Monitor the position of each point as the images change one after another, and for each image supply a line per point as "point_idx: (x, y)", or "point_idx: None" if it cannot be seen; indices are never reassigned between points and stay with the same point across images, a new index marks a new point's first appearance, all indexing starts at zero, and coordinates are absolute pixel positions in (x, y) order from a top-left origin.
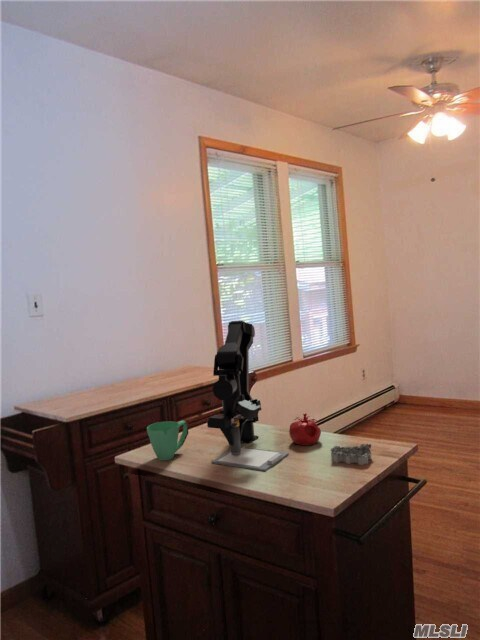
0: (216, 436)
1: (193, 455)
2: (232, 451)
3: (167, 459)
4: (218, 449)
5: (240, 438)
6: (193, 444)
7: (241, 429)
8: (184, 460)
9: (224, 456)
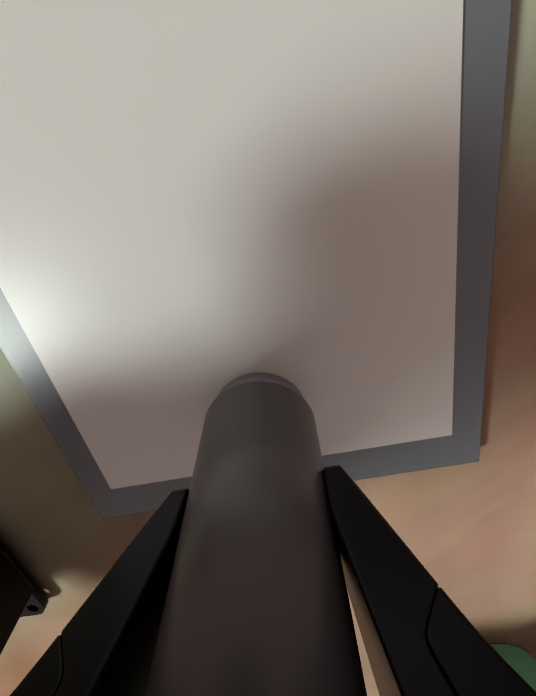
0: None
1: None
2: (316, 429)
3: (519, 650)
4: None
5: (157, 518)
6: None
7: (85, 665)
8: (488, 592)
9: (347, 450)
